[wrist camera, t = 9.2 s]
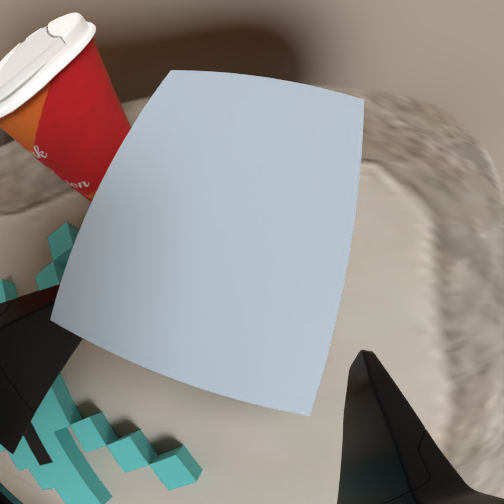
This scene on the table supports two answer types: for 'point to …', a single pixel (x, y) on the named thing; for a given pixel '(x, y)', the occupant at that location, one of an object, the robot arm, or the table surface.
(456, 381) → the table surface
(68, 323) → the pale blue upright block
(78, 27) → the paper cup
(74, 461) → the alien figure
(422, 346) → the table surface
